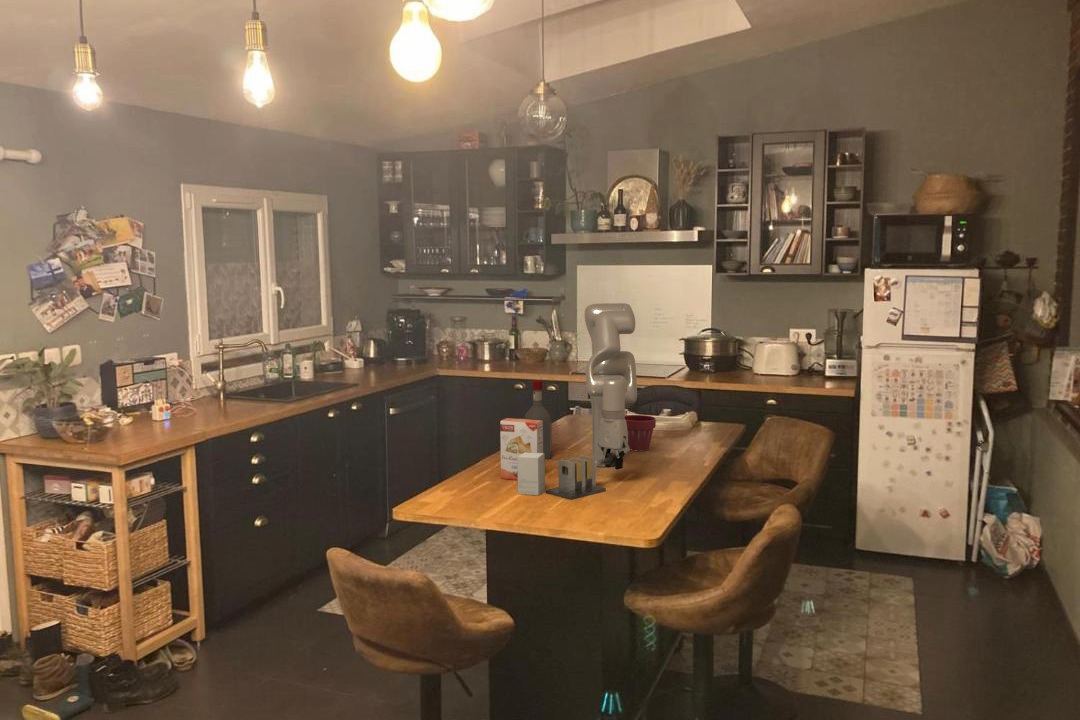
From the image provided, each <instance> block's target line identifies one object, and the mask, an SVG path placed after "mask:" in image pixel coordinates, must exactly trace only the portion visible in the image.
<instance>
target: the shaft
mask: <svg viewBox="0 0 1080 720" xmlns="http://www.w3.org/2000/svg"><path fill="white" fill-rule="evenodd" d="M615 458H617V457H616V453H613V452H611V453H607V458H605V459H600V460H596V467H599V466H601V465H605V464H607V465H610V466H612V467H615Z"/></svg>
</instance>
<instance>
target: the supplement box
mask: <svg viewBox="0 0 1080 720" xmlns="http://www.w3.org/2000/svg"><path fill="white" fill-rule="evenodd" d="M545 464H546V461H545V457H544V453H527V452H524V453H523V454H521V455H519V456H518V457H517V470H518V480H517V494H518V495H525V494H526V496H540V495H541V494H543V493H544V492H545V490H546V466H545Z"/></svg>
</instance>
